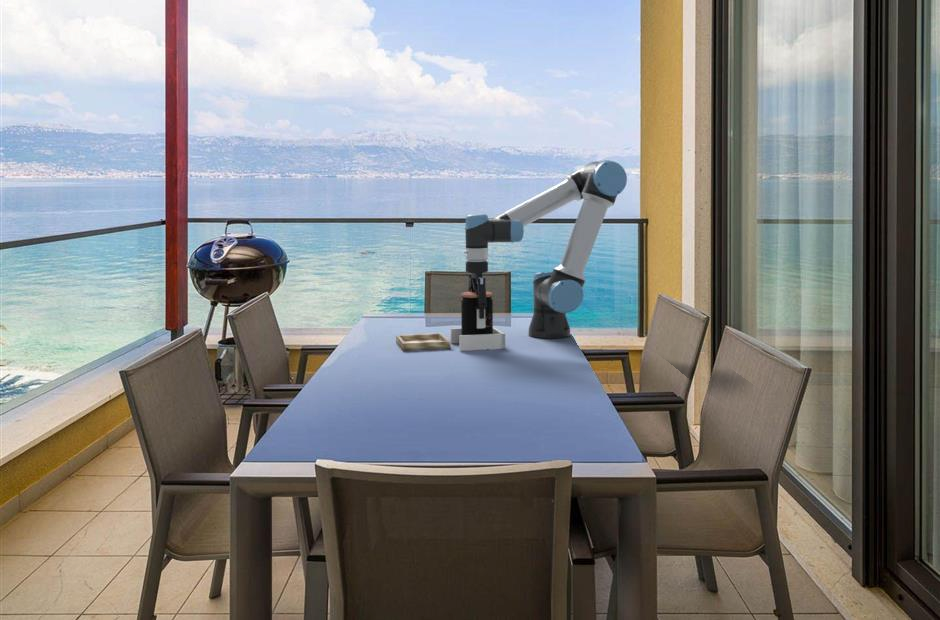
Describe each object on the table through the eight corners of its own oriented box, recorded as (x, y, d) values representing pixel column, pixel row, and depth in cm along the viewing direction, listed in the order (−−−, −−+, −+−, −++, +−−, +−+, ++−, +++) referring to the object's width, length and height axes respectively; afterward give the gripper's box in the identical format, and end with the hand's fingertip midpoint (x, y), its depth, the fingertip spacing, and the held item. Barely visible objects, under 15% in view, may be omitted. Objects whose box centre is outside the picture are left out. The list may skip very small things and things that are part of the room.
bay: (493, 340, 299) (493, 326, 298) (505, 348, 284) (505, 333, 283) (450, 342, 295) (450, 328, 294) (460, 350, 280) (460, 336, 280)
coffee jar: (489, 349, 283) (489, 295, 281) (458, 348, 285) (458, 294, 283) (495, 343, 294) (495, 291, 291) (465, 342, 296) (464, 290, 293)
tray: (441, 340, 300) (441, 333, 299) (450, 348, 284) (450, 341, 284) (396, 342, 296) (396, 335, 296) (403, 351, 281) (402, 343, 280)
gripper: (458, 258, 296) (459, 320, 299) (473, 263, 273) (474, 331, 277) (479, 257, 297) (479, 319, 300) (496, 263, 275) (496, 330, 278)
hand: (477, 325), depth 288 cm, fingers closed on coffee jar, 11 cm apart
